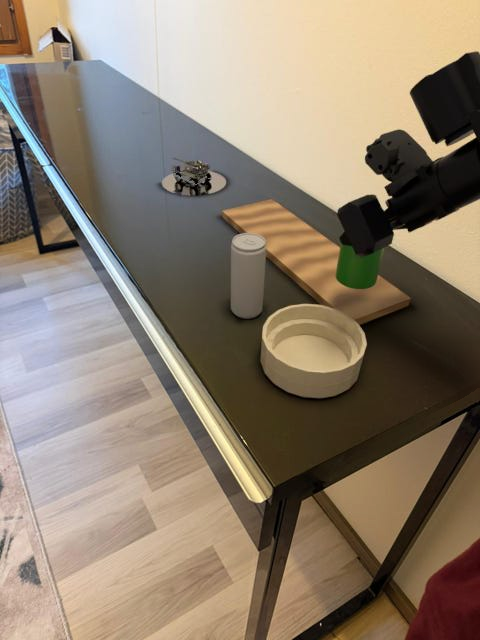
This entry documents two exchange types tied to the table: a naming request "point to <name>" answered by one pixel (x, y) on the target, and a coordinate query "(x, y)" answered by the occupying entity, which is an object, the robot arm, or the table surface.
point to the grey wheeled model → (193, 179)
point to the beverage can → (247, 274)
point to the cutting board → (312, 261)
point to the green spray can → (358, 267)
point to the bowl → (312, 350)
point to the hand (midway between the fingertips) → (356, 234)
